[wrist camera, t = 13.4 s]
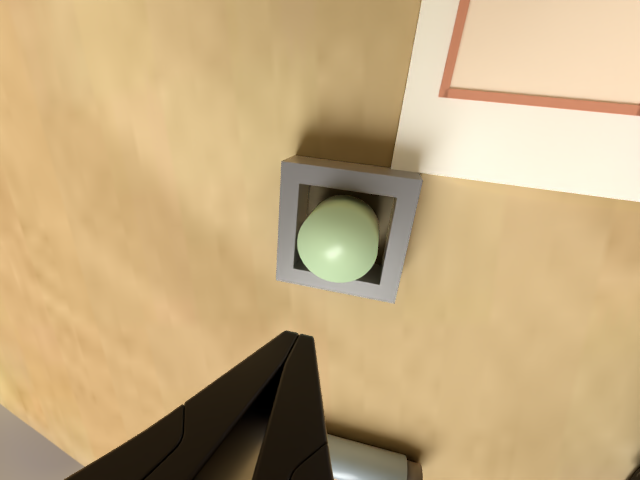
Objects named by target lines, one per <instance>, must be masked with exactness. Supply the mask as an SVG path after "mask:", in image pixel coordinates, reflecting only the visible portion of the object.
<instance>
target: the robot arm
mask: <svg viewBox="0 0 640 480" xmlns="http://www.w3.org/2000/svg"><path fill="white" fill-rule="evenodd" d="M64 480H334V477H333V471H332V465H331V459H330V451H329V446H328V438H327V431H326V423H325V416H324V409H323V401H322V394H321V387H320V379H319V372H318V364H317V357H316V350H315V342H314V338H313V336H309V335H304V334H300V335H299V334H298V333H295V332H291V331H284V332H282V333H281V334H279V335H278V336H277V337H275V338H274V339H272V340H271V341H270V342H268V343H267V344H265V345H264V346H263V347H261V348H260V349H258V350H257V351H256V352H254V353H253V354H252V355H250V356H249V357H247V358H246V359H245V360H243V361H242V362H240V363H239V364H238V365H236V366H235V367H233V368H232V369H231V370H229V371H228V372H227V373H225V374H224V375H222V376H221V377H220V378H218V379H217V380H215V381H214V382H213V383H211V384H210V385H208V386H207V387H206V388H204V389H203V390H201V391H200V392H199V393H197V394H196V395H195V396H193V397H192V398H190V399H189V400H188V401H186V402H185V404H184V405H180V406H179V407H178V408H176V409H175V410H173V411H172V412H171V413H169V414H168V415H166V416H165V417H164V418H162V419H161V420H159V421H158V422H156V423H155V424H153V425H152V426H150V427H149V428H147V429H146V430H144V431H143V432H141V433H140V434H138V435H137V436H135V437H133V438H132V439H130V440H129V441H127V442H125V443H124V444H122V445H121V446H119V447H117V448H116V449H114V450H112V451H111V452H109V453H107V454H106V455H104V456H102V457H101V458H99V459H97V460H96V461H94V462H92V463H91V464H89V465H87V466H86V467H84V468H82V469H81V470H79V471H77V472H76V473H74V474H72V475H71V476H69V477H67V478H66V479H64ZM630 480H640V468H639V469H638V470H637V471H636V472H635V474H634V475H633V476H632V477H631V479H630Z"/></svg>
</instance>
